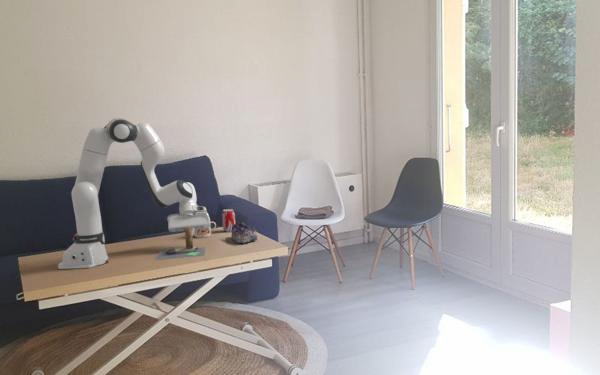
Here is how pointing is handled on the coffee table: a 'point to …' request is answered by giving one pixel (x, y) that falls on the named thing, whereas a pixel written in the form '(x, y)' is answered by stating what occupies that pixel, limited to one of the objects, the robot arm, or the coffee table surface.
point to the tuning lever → (188, 242)
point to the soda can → (228, 219)
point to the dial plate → (181, 254)
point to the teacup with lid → (204, 232)
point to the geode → (243, 233)
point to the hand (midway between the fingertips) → (190, 236)
